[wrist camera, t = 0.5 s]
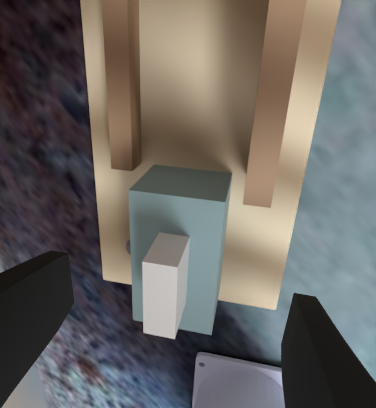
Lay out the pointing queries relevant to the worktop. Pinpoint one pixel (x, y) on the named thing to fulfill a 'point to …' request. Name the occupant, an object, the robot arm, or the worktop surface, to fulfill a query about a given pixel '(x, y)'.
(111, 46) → the cleat board
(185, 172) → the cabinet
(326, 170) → the worktop surface
